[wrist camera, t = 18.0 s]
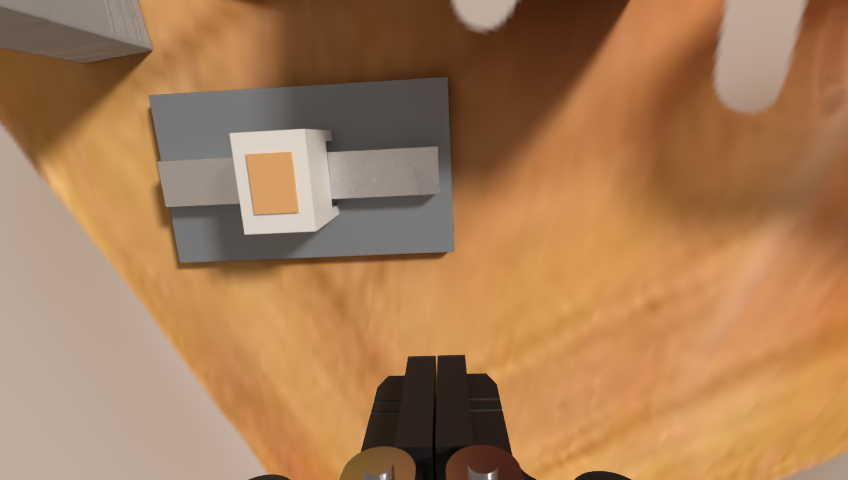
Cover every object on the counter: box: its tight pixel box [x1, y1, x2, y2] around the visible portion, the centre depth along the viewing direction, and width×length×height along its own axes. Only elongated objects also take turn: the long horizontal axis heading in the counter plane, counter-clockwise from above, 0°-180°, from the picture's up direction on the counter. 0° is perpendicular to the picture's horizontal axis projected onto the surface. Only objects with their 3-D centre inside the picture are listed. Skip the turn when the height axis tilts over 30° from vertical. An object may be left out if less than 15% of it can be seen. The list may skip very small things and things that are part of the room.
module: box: [229, 129, 340, 235], centre depth 33 cm, size 7×5×7 cm
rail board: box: [149, 77, 454, 263], centre depth 37 cm, size 14×24×2 cm, turn 93°
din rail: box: [157, 146, 440, 207], centre depth 35 cm, size 4×22×2 cm, turn 93°
